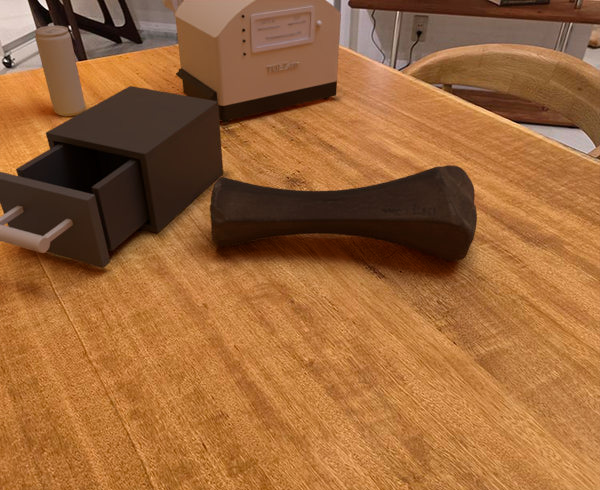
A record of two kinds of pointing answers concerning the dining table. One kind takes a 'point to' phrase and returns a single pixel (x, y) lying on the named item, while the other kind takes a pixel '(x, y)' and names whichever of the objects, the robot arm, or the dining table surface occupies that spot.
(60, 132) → the dark brown drawer cabinet
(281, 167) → the dining table surface
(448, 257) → the dark brown bone
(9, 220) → the dark grey drawer
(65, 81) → the beverage can
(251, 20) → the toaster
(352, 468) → the dining table surface
